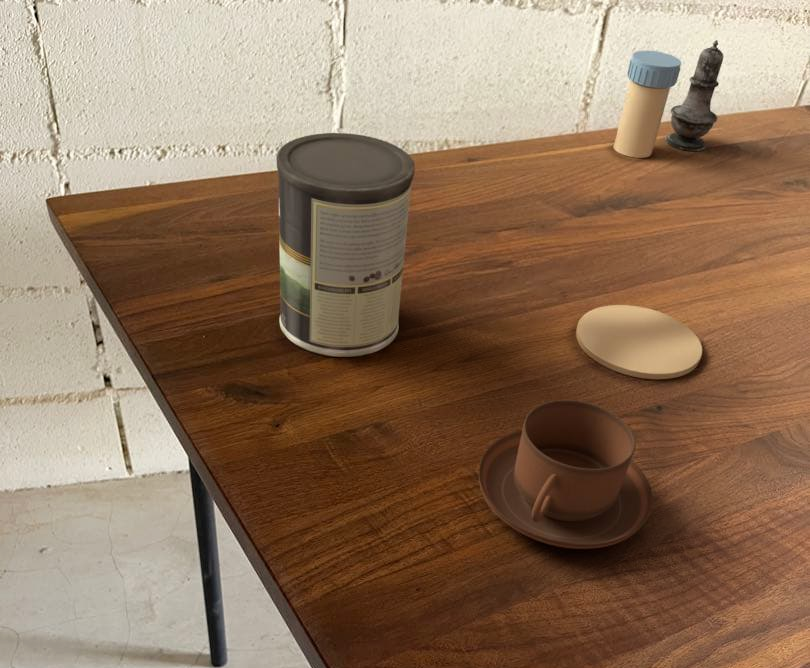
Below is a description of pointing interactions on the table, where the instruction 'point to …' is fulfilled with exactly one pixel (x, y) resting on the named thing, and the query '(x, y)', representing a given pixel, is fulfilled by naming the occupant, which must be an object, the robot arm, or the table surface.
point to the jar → (640, 120)
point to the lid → (654, 69)
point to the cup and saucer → (568, 477)
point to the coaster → (639, 342)
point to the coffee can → (342, 241)
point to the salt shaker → (697, 104)
